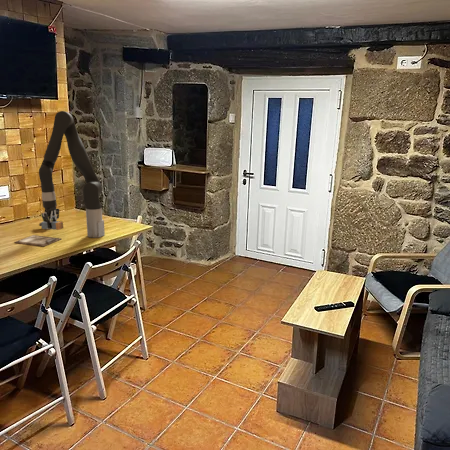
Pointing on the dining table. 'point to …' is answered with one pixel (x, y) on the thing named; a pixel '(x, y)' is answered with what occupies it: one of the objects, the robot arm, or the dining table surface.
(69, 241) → the dining table surface
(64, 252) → the dining table surface
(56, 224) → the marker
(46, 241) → the clipboard
